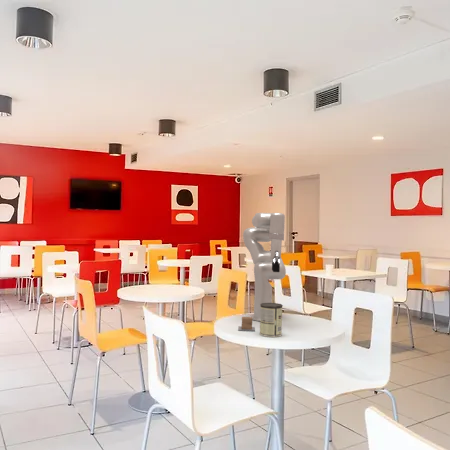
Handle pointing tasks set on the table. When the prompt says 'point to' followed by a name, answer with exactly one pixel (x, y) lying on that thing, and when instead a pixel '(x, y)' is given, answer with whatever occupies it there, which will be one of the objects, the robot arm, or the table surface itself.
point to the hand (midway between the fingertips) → (275, 271)
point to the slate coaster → (245, 329)
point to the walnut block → (246, 322)
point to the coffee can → (271, 319)
